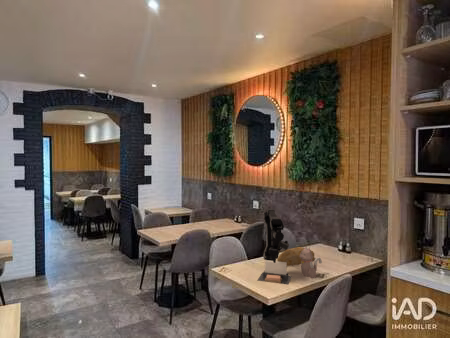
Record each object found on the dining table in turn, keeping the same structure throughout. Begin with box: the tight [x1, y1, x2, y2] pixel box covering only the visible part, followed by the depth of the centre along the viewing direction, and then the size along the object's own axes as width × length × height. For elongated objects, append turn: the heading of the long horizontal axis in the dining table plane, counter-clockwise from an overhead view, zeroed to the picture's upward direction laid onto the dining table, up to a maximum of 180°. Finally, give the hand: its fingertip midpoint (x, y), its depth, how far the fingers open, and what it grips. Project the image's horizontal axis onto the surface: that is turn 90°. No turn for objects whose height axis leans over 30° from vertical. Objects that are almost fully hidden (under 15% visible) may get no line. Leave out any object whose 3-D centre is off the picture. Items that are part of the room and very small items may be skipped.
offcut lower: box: [264, 276, 282, 285], centre depth 200 cm, size 6×10×1 cm, turn 71°
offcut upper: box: [266, 275, 280, 281], centre depth 200 cm, size 5×9×1 cm, turn 79°
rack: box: [256, 269, 292, 286], centre depth 205 cm, size 16×20×4 cm
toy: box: [299, 246, 323, 279], centre depth 213 cm, size 9×18×20 cm, turn 117°
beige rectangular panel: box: [264, 260, 288, 275], centre depth 208 cm, size 2×14×10 cm, turn 71°
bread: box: [276, 246, 315, 267], centre depth 243 cm, size 36×11×10 cm, turn 122°
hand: (275, 260), depth 208 cm, fingers open, 9 cm apart
